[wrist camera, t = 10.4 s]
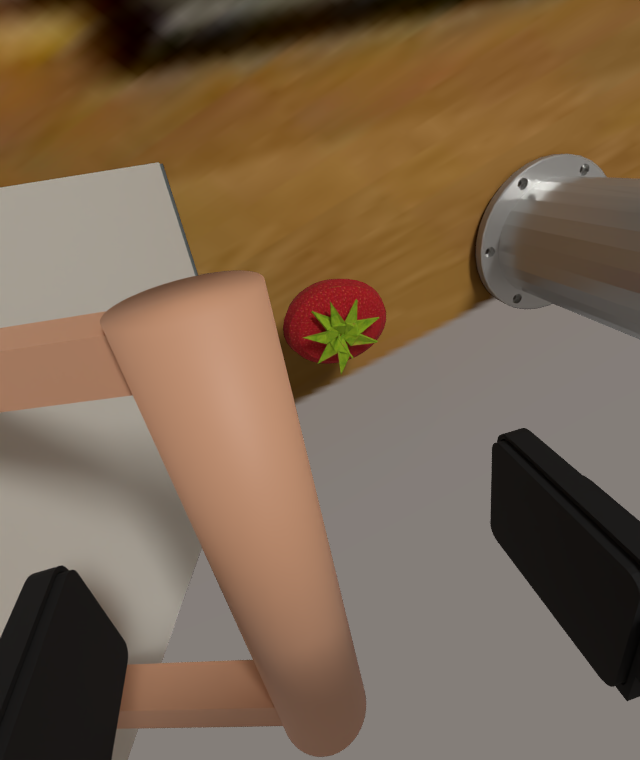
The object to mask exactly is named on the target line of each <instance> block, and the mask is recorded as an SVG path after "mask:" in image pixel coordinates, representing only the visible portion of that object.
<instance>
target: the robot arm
mask: <svg viewBox="0 0 640 760" xmlns="http://www.w3.org/2000/svg"><path fill="white" fill-rule="evenodd" d="M476 263H477V270H478V272H479V275H480V278H481V281H482V283H483V284H484V286H485V287H486V289H487V291H488V292H489V293H491V294H492V295H493V296H494V297H495V298H496V299H498V300H500V301H501V302H503V303H505V304H507V305H509V306H512V307H515V308H521V309H535V308H541V307H544V306H548V305H550V304H555V305H558V306H560V307H563V308H565V309H568V310H570V311H572V312H575V313H577V314H579V315H582V316H584V317H587V318H589V319H592V320H594V321H597V322H599V323H601V324H604V325H606V326H608V327H611V328H613V329H616V330H618V331H621V332H623V333H625V334H628V335H630V336H633V337H635V338H638V339H640V179H631V178H607V177H606V175H605V174H604V172H603V171H602V170H601V168H600V167H598V166H597V165H596V164H595V163H594V162H593V161H591V160H589V159H587V158H585V157H582V156H579V155H572V154H554V155H549V156H545V157H541V158H538V159H536V160H534V161H532V162H530V163H527V164H526V165H525V166H523V167H522V168H520V169H519V170H517V171H516V172H515V173H514V174H512V175H511V176H510V177H509V178H508V179H507V180H506V181H505V182H504V183H503V184H502V186H501V187H500V188H499V190H498V191H497V192H496V194H495V195H494V196H493V198H492V200H491V201H490V203H489V205H488V207H487V209H486V210H485V213H484V215H483V218H482V221H481V223H480V226H479V230H478V235H477V240H476ZM491 529H492V532H493V535H494V536H495V538H496V540H497V541H498V543H499V544H500V545H501V547H502V548H503V549H504V551H505V552H506V553H507V555H508V556H509V557H510V559H511V560H512V561H513V563H514V564H515V565H516V567H517V568H518V569H519V571H520V572H521V573H522V574H523V576H524V577H525V579H526V580H527V581H528V582H529V584H530V585H531V586H532V588H533V589H534V591H535V592H536V593H537V594H538V596H539V597H540V598H541V600H542V601H543V602H544V604H545V605H546V606H547V608H548V609H549V610H550V612H551V613H552V614H553V616H554V617H555V618H556V620H557V621H558V622H559V624H560V625H561V626H562V628H563V629H564V630H565V632H566V633H567V634H568V636H569V637H570V638H571V640H572V641H573V642H574V644H575V645H576V646H577V648H578V649H579V650H580V652H581V653H582V654H583V656H584V657H585V658H586V660H587V661H588V662H589V664H590V665H591V666H592V668H593V669H594V670H595V671H596V673H597V674H598V676H599V677H600V678H601V679H602V680H603V681H604V682H605V683H606V684H607V685H609V686H616V687H617V689H618V690H619V691H620V693H621V694H622V695H623V697H624V698H625V699H626V700H627V701H628V700H631V699H634V698H636V697H639V696H640V521H639V520H637V519H636V518H635V517H634V516H633V515H631V514H630V513H629V512H628V511H627V510H626V509H624V508H623V507H622V506H621V505H620V504H618V503H617V502H616V501H615V500H614V499H613V498H611V497H610V496H609V495H608V494H607V493H605V492H604V491H603V490H602V489H601V488H599V487H598V486H597V485H596V484H595V483H593V482H592V481H591V480H590V479H588V478H587V477H585V476H583V475H581V474H580V473H579V472H578V471H577V470H576V469H574V468H573V467H572V466H571V465H570V464H568V463H567V462H566V461H565V460H564V459H563V458H561V457H560V456H559V455H558V454H557V453H555V452H554V451H553V450H552V449H551V448H550V447H548V446H547V445H546V444H545V443H544V442H543V441H541V440H540V439H539V438H538V437H536V436H535V435H534V434H533V433H532V432H531V431H529V430H528V429H525V428H522V429H518V430H515V431H512V432H508V433H505V434H502V435H500V436H499V437H498V440H497V443H494V444H493V447H492V482H491ZM127 663H128V648H127V645H126V642H125V641H124V639H123V638H122V636H121V635H120V633H119V632H118V630H117V629H116V627H115V626H114V625H113V623H112V622H111V620H110V619H109V617H108V616H107V614H106V613H105V612H104V610H103V609H102V607H101V606H100V604H99V603H98V601H97V600H96V598H95V597H94V596H93V594H92V593H91V591H90V590H89V588H88V587H87V585H86V584H85V582H84V581H83V580H82V578H81V577H80V575H79V574H78V572H77V571H76V570H68V569H67V568H66V567H65V566H63V565H61V566H57V567H54V568H50V569H47V570H44V571H40V572H37V573H34V574H31V575H30V576H29V577H28V578H27V579H26V581H25V583H24V585H23V587H22V590H21V592H20V594H19V596H18V599H17V601H16V603H15V606H14V608H13V610H12V612H11V615H10V617H9V619H8V621H7V624H6V626H5V628H4V630H3V633H2V635H1V637H0V760H112V754H113V748H114V742H115V736H116V730H117V724H118V717H119V711H120V705H121V699H122V693H123V687H124V681H125V675H126V669H127Z"/></svg>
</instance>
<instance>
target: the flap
mask: <svg viewBox="0 0 640 760" xmlns="http://www.w3.org/2000/svg"><path fill="white" fill-rule="evenodd" d="M201 549H203V551H204V553H205V555H206V557H207V560H208V561H209V564H210V566H211V568H212V571H213V573H214V575H215V577H216V579H217V582H218V584H219V586H220V588H221V590H222V593H223V595H224V597H225V599H226V601H227V603H228V606H229V608H230V610H231V612H232V614H233V617H234V619H235V621H236V623H237V625H238V628H239V630H240V632H241V634H242V636H243V639H244V641H245V643H246V645H247V647H248V649H249V652H250V654H251V656H252V658H253V660H235V661H209V662H184V663H183V662H182V663H162V660H163V657H164V654H165V652H166V649H167V646H168V643H169V640H170V637H171V634H172V632H173V629H174V626H175V623H176V620H177V617H178V615H179V612H180V608H181V606H182V603H183V600H184V597H185V595H186V592H187V589H188V586H189V583H190V580H191V578H192V575H193V572H194V569H195V566H196V563H197V560H198V558H199V555H200V552H201ZM61 565H63V566H65V567H66V568H67V569H68V570H76V571H77V572H78V574H79V575H80V577H81V578H82V580H83V581H84V582H85V584H86V585H87V587H88V588H89V590H90V591H91V593H92V594H93V596H94V597H95V598H96V600H97V601H98V603H99V604H100V606H101V607H102V609H103V610H104V612H105V613H106V614H107V616H108V617H109V619H110V620H111V622H112V623H113V625H114V626H115V627H116V629H117V630H118V632H119V633H120V635H121V636H122V638H123V639H124V641H125V642H126V645H127V648H128V663H127V669H126V675H125V681H124V687H123V693H122V699H121V705H120V711H119V717H118V724H117V730H116V736H115V742H114V748H113V754H112V760H128V757H129V754H130V751H131V748H132V746H133V743H134V740H135V737H136V734H137V731H138V729H139V728H185V727H186V728H191V727H246V726H247V727H252V726H283V727H284V728H285V731H286V733H287V735H288V737H289V739H290V740H291V742H292V743H293V744H294V745H295V746H296V747H297V748H298V749H300V750H301V751H303V752H304V753H306V754H309V755H312V756H317V757H324V756H330V755H334V754H336V753H338V752H340V751H342V750H343V749H345V748H346V747H347V746H348V745H350V744H351V742H352V741H353V740H354V739H355V738H356V736H357V735H358V733H359V731H360V729H361V727H362V724H363V722H364V718H365V711H366V696H365V691H364V687H363V682H362V678H361V674H360V670H359V666H358V662H357V658H356V653H355V649H354V645H353V641H352V637H351V633H350V629H349V625H348V621H347V617H346V613H345V608H344V604H343V600H342V596H341V592H340V588H339V584H338V580H337V575H336V571H335V567H334V563H333V559H332V555H331V551H330V547H329V542H328V538H327V534H326V531H325V526H324V522H323V518H322V514H321V510H320V505H319V501H318V497H317V493H316V489H315V485H314V481H313V477H312V473H311V468H310V465H309V460H308V456H307V452H306V448H305V444H304V440H303V436H302V431H301V427H300V423H299V419H298V415H297V411H296V407H295V403H294V398H293V394H292V390H291V386H290V382H289V378H288V374H287V370H286V366H285V361H284V357H283V353H282V349H281V345H280V341H279V337H278V333H277V329H276V324H275V320H274V316H273V312H272V308H271V304H270V300H269V296H268V292H267V287H266V283H265V279H264V277H263V276H262V275H261V274H259V273H256V272H251V271H223V272H215V273H208V274H202V275H197V276H195V273H194V270H193V267H192V264H191V261H190V257H189V254H188V251H187V248H186V245H185V242H184V239H183V236H182V233H181V229H180V226H179V223H178V220H177V217H176V214H175V211H174V208H173V205H172V201H171V198H170V195H169V192H168V189H167V186H166V183H165V180H164V177H163V173H162V170H161V167H160V164H159V162H158V163H152V164H146V165H140V166H133V167H127V168H121V169H114V170H108V171H102V172H96V173H89V174H83V175H77V176H71V177H64V178H58V179H52V180H46V181H39V182H33V183H27V184H21V185H14V186H8V187H2V188H0V637H1V635H2V633H3V630H4V628H5V626H6V624H7V621H8V619H9V617H10V615H11V612H12V610H13V608H14V606H15V603H16V601H17V599H18V596H19V594H20V592H21V590H22V587H23V585H24V583H25V581H26V579H27V578H28V577H29V576H30V575H31V574H34V573H37V572H40V571H44V570H47V569H50V568H54V567H57V566H61Z"/></svg>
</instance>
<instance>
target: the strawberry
mask: <svg viewBox="0 0 640 760" xmlns="http://www.w3.org/2000/svg"><path fill="white" fill-rule="evenodd" d="M385 322H386V311H385V307H384V304H383V302H382V299H381V298H380V296H379V294H378V293H377V292H376V291H375V290H374V289H373V288H372V287H370V286H369V285H367V284H365V283H363V282H360V281H357V280H350V279H329V280H324V281H320V282H318V283H315V284H313V285H311V286H309V287H307V288H305V289H304V290H303V291H302V292H300V293H299V294H298V295H297V296H296V297H295V298H294V299H293V301H292V302H291V304H290V306H289V308H288V311H287V313H286V316H285V319H284V325H283V331H284V337H285V339H286V341H287V343H288V344H289V346H290V347H291V348H292V349H293V350H294V351H295V352H297V353H298V354H299V355H301V356H302V357H303V358H305V359H307V360H310V361H313V362H317V363H318V364H319V363H327V364H328V363H338V362H339V364H340V371H341V374H342V371H343V369H344V367H345V365H346V363H347V361H348V360H349V359H351V358H354V357H356V356H358V355H360V354H361V353H363V352H364V351H366V350H367V349H368V348H370V347H371V346H372V345H373V344H374V343H376V342H377V339H378V338H379V336H380V335H381V333H382V331H383V329H384V326H385Z"/></svg>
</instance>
